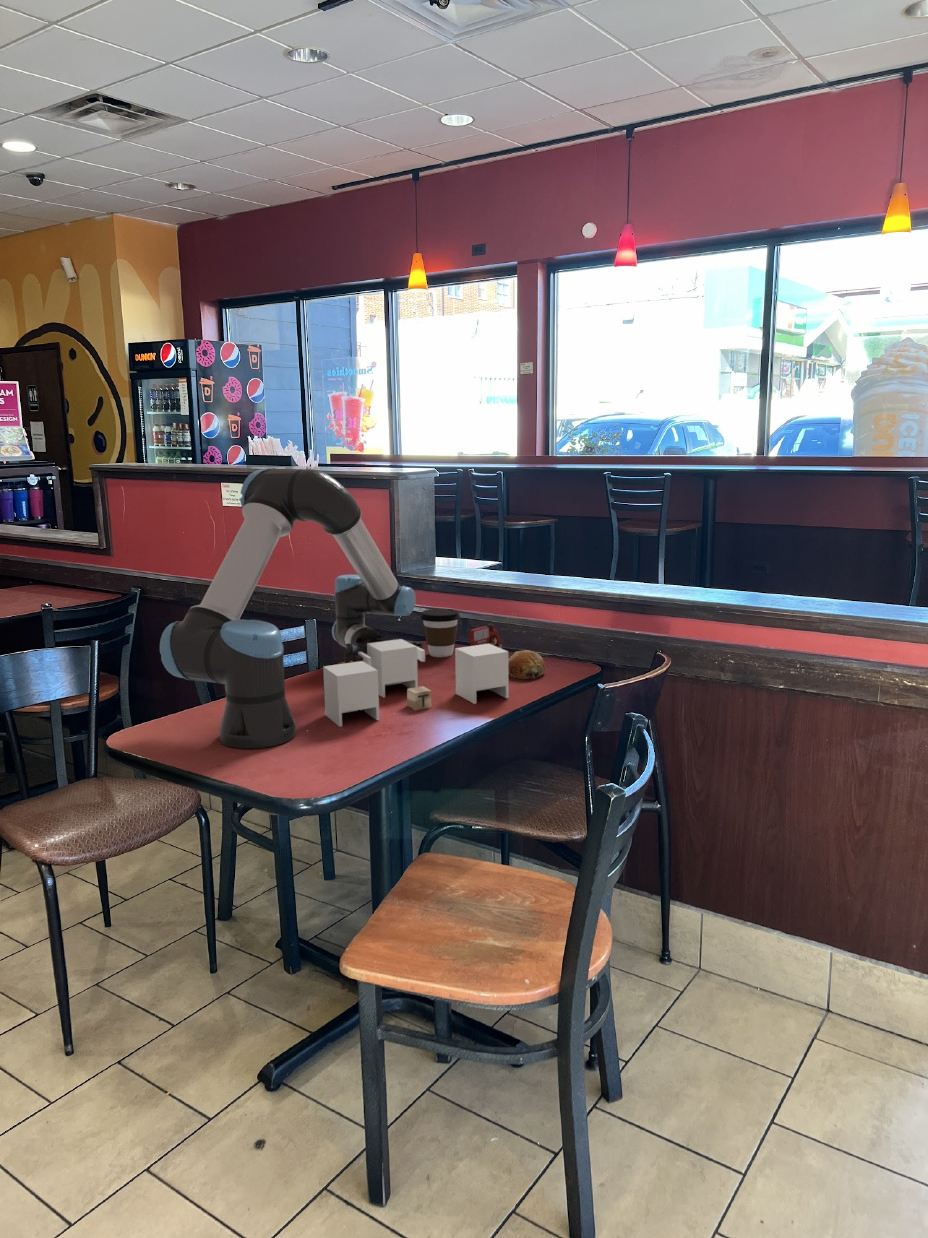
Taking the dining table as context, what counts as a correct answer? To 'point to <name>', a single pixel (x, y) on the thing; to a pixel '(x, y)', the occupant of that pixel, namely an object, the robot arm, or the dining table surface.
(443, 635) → the coffee cup
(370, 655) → the tall off-white cuboid
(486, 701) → the dining table surface
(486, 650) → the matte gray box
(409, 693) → the letter cube
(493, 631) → the toy fire truck
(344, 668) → the matte white cube
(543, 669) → the bread roll
